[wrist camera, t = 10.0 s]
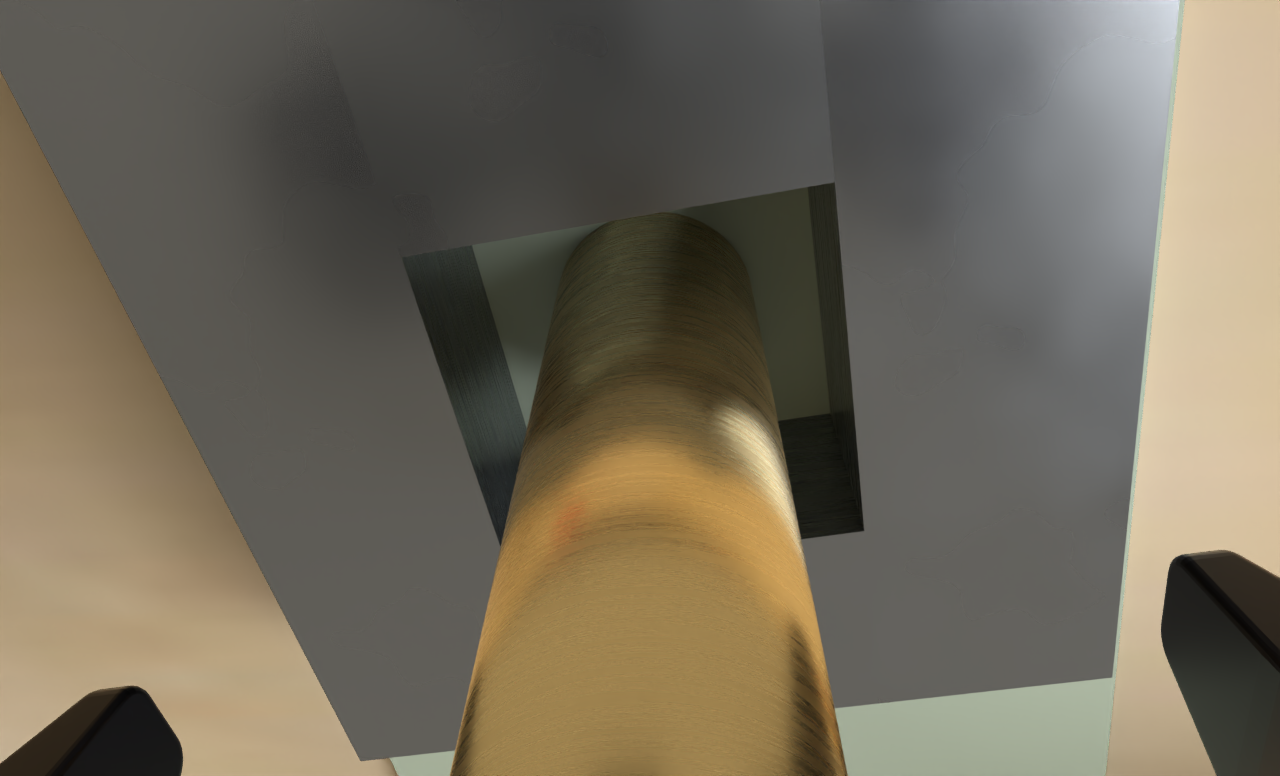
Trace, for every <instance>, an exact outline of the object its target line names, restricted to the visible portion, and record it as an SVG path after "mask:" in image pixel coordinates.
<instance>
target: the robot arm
mask: <svg viewBox="0 0 1280 776" xmlns="http://www.w3.org/2000/svg"><path fill="white" fill-rule="evenodd" d="M1161 637H1162V643H1163V647H1164V651H1165V654H1166V657H1167V659H1168V662H1169V664H1170V667H1171V669H1172V671H1173V674H1174V676H1175V678H1176V681H1177V683H1178V685H1179V688H1180V690H1181V693H1182V695H1183V697H1184V700H1185V702H1186V704H1187V707H1188V709H1189V711H1190V714H1191V716H1192V718H1193V721H1194V723H1195V726H1196V728H1197V730H1198V733H1199V735H1200V737H1201V740H1202V742H1203V744H1204V747H1205V749H1206V751H1207V754H1208V756H1209V759H1210V761H1211V763H1212V766H1213V768H1214V770H1215V773H1216V775H1217V776H1280V577H1278V576H1276V575H1274V574H1272V573H1271V572H1269V571H1267V570H1265V569H1264V568H1262V567H1260V566H1258V565H1256V564H1255V563H1253V562H1251V561H1249V560H1248V559H1246V558H1244V557H1242V556H1240V555H1238V554H1236V553H1234V552H1231V551H1227V550H1216V551H1208V552H1200V553H1192V554H1184V555H1180V556H1178V557H1176V558H1175V559H1173V561H1172V563H1171V564H1170V567H1169V571H1168V578H1167V586H1166V593H1165V600H1164V608H1163V615H1162V623H1161ZM182 766H183V753H182V747H181V744H180V741H179V739H178V738H177V736H176V735H175V733H174V732H173V730H172V729H171V727H170V726H169V724H168V723H167V721H166V720H165V718H164V717H163V715H162V713H161V712H160V710H159V709H158V707H157V706H156V704H155V703H154V701H153V700H152V698H151V697H150V695H149V694H148V693H147V692H146V691H145V690H143V689H142V688H140V687H138V686H124V687H116V688H108V689H100V690H97V691H94V692H92V693H90V694H88V695H86V696H85V697H83V698H82V699H81V700H80V701H78V702H77V703H76V704H75V705H73V706H72V707H71V708H70V709H68V710H67V711H66V712H65V713H63V714H62V715H61V716H60V717H58V718H57V719H56V720H55V721H53V722H52V723H51V724H50V725H48V726H47V727H46V728H44V729H43V730H42V731H41V732H39V733H38V734H37V735H36V736H34V737H33V738H32V739H31V740H29V741H28V742H27V743H26V744H24V745H23V746H22V747H21V748H19V749H18V750H17V751H16V752H14V753H13V754H12V755H11V756H9V757H8V758H7V759H6V760H4V761H3V762H2V763H0V776H181V772H182Z"/></svg>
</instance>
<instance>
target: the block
mask: <svg viewBox="0 0 1280 776" xmlns="http://www.w3.org/2000/svg"><path fill="white" fill-rule="evenodd" d="M1179 3H1180V0H0V71H1V73H2V75H3V76H4V78H5V80H6V82H7V84H8V86H9V88H10V90H11V92H12V94H13V96H14V98H15V99H16V101H17V103H18V105H19V107H20V109H21V111H22V113H23V115H24V117H25V119H26V121H27V122H28V124H29V126H30V128H31V130H32V132H33V134H34V136H35V138H36V140H37V142H38V144H39V145H40V147H41V149H42V151H43V153H44V155H45V157H46V159H47V161H48V163H49V165H50V167H51V169H52V170H53V172H54V174H55V176H56V178H57V180H58V182H59V184H60V186H61V188H62V190H63V192H64V193H65V195H66V197H67V199H68V201H69V203H70V205H71V207H72V209H73V211H74V213H75V215H76V216H77V218H78V220H79V222H80V224H81V226H82V228H83V230H84V232H85V234H86V236H87V238H88V239H89V241H90V243H91V245H92V247H93V249H94V251H95V253H96V255H97V257H98V259H99V261H100V262H101V264H102V266H103V268H104V270H105V272H106V274H107V276H108V278H109V280H110V282H111V284H112V285H113V287H114V289H115V291H116V293H117V295H118V297H119V299H120V301H121V303H122V305H123V307H124V308H125V310H126V312H127V314H128V316H129V318H130V320H131V322H132V324H133V326H134V328H135V330H136V331H137V333H138V335H139V337H140V339H141V341H142V343H143V345H144V347H145V349H146V351H147V353H148V354H149V356H150V358H151V360H152V362H153V364H154V366H155V368H156V370H157V372H158V374H159V376H160V377H161V379H162V381H163V383H164V385H165V387H166V389H167V391H168V393H169V395H170V397H171V399H172V400H173V402H174V404H175V406H176V408H177V410H178V412H179V414H180V416H181V418H182V420H183V422H184V424H185V425H186V427H187V429H188V431H189V433H190V435H191V437H192V439H193V441H194V443H195V445H196V447H197V448H198V450H199V452H200V454H201V456H202V458H203V460H204V462H205V464H206V466H207V468H208V470H209V471H210V473H211V475H212V477H213V479H214V481H215V483H216V485H217V487H218V489H219V491H220V493H221V494H222V496H223V498H224V500H225V502H226V504H227V506H228V508H229V510H230V512H231V514H232V516H233V517H234V519H235V521H236V523H237V525H238V527H239V529H240V531H241V533H242V535H243V537H244V539H245V540H246V542H247V544H248V546H249V548H250V550H251V552H252V554H253V556H254V558H255V560H256V562H257V563H258V565H259V567H260V569H261V571H262V573H263V575H264V577H265V579H266V581H267V583H268V585H269V586H270V588H271V590H272V592H273V594H274V596H275V598H276V600H277V602H278V604H279V606H280V608H281V609H282V611H283V613H284V615H285V617H286V619H287V621H288V623H289V625H290V627H291V629H292V631H293V632H294V634H295V636H296V638H297V640H298V642H299V644H300V646H301V648H302V650H303V652H304V654H305V656H306V657H307V659H308V661H309V663H310V665H311V667H312V669H313V671H314V673H315V675H316V677H317V679H318V680H319V682H320V684H321V686H322V688H323V690H324V692H325V694H326V696H327V698H328V700H329V702H330V703H331V705H332V707H333V709H334V711H335V713H336V715H337V717H338V719H339V721H340V723H341V725H342V726H343V728H344V730H345V732H346V734H347V736H348V738H349V740H350V742H351V744H352V746H353V748H354V749H355V751H356V753H357V755H358V757H359V759H360V761H366V760H375V759H384V758H393V757H402V756H411V755H420V754H429V753H438V752H447V751H455V749H456V745H457V740H458V736H459V731H460V727H461V722H462V718H463V713H464V709H465V704H466V700H467V695H468V691H469V686H470V682H471V677H472V673H473V668H474V664H475V659H476V655H477V650H478V646H479V641H480V637H481V632H482V628H483V623H484V619H485V614H486V610H487V605H488V601H489V597H490V592H491V588H492V583H493V579H494V574H495V570H496V565H497V561H498V556H499V552H500V547H501V543H502V538H503V534H504V529H505V525H506V520H507V516H508V511H509V507H510V502H511V498H512V493H513V489H514V484H515V480H516V475H517V471H518V466H519V462H520V457H521V453H522V448H523V444H524V439H525V435H526V430H527V428H526V424H525V421H524V418H523V414H522V411H521V408H520V404H519V401H518V398H517V394H516V391H515V388H514V384H513V381H512V378H511V374H510V371H509V368H508V364H507V361H506V358H505V354H504V351H503V348H502V344H501V341H500V338H499V334H498V331H497V328H496V324H495V321H494V318H493V314H492V311H491V308H490V304H489V301H488V298H487V294H486V291H485V288H484V284H483V281H482V277H481V274H480V271H479V267H478V264H477V261H476V257H475V254H474V251H473V247H472V245H476V244H481V243H487V242H493V241H499V240H504V239H510V238H516V237H522V236H528V235H533V234H539V233H545V232H551V231H556V230H562V229H568V228H574V227H580V226H585V225H591V224H597V223H603V222H608V221H614V220H620V219H626V218H631V217H637V216H643V215H649V214H655V213H660V212H666V211H672V210H678V209H683V208H689V207H695V206H701V205H707V204H712V203H718V202H724V201H730V200H735V199H741V198H747V197H753V196H759V195H764V194H770V193H776V192H782V191H787V190H793V189H799V188H805V187H808V197H809V207H810V217H811V227H812V237H813V247H814V257H815V267H816V277H817V287H818V297H819V307H820V317H821V327H822V337H823V347H824V357H825V367H826V377H827V387H828V397H829V407H830V413H828V414H821V415H815V416H808V417H801V418H794V419H787V420H780V421H778V424H779V429H780V434H781V439H782V444H783V449H784V454H785V459H786V464H787V469H788V474H789V479H790V485H791V490H792V495H793V500H794V505H795V510H796V515H797V520H798V525H799V530H800V535H801V540H802V545H803V551H804V556H805V561H806V566H807V571H808V576H809V581H810V586H811V591H812V596H813V601H814V606H815V611H816V616H817V622H818V627H819V632H820V637H821V642H822V647H823V652H824V657H825V662H826V667H827V672H828V677H829V682H830V688H831V693H832V698H833V703H834V708H844V707H853V706H862V705H871V704H880V703H889V702H898V701H907V700H916V699H925V698H934V697H943V696H952V695H961V694H970V693H979V692H988V691H997V690H1006V689H1015V688H1024V687H1033V686H1042V685H1051V684H1060V683H1069V682H1078V681H1087V680H1096V679H1105V678H1112V676H1113V666H1114V656H1115V646H1116V636H1117V626H1118V616H1119V605H1120V595H1121V585H1122V575H1123V565H1124V555H1125V545H1126V535H1127V525H1128V515H1129V505H1130V495H1131V485H1132V475H1133V465H1134V455H1135V445H1136V435H1137V425H1138V415H1139V405H1140V394H1141V384H1142V374H1143V364H1144V354H1145V344H1146V334H1147V324H1148V314H1149V304H1150V294H1151V284H1152V274H1153V264H1154V254H1155V244H1156V234H1157V224H1158V214H1159V204H1160V193H1161V183H1162V173H1163V163H1164V153H1165V143H1166V133H1167V123H1168V113H1169V103H1170V93H1171V83H1172V73H1173V63H1174V53H1175V43H1176V33H1177V23H1178V13H1179Z"/></svg>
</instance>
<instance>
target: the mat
mask: <svg viewBox="0 0 1280 776" xmlns="http://www.w3.org/2000/svg"><path fill="white" fill-rule="evenodd" d="M1184 2H1185V0H1180V3H1179V13H1178V23H1177V33H1176V43H1175V53H1174V63H1173V73H1172V83H1171V93H1170V103H1169V113H1168V123H1167V133H1166V143H1165V153H1164V163H1163V173H1162V183H1161V193H1160V204H1159V214H1158V224H1157V234H1156V244H1155V254H1154V264H1153V274H1152V284H1151V294H1150V304H1149V314H1148V324H1147V334H1146V344H1145V354H1144V364H1143V374H1142V384H1141V394H1140V405H1139V415H1138V425H1137V435H1136V445H1135V455H1134V465H1133V475H1132V485H1131V495H1130V505H1129V515H1128V525H1127V535H1126V545H1125V555H1124V565H1123V575H1122V585H1121V595H1120V605H1119V616H1118V626H1117V636H1116V646H1115V656H1114V666H1113V676H1112V678H1105V679H1096V680H1087V681H1078V682H1069V683H1060V684H1051V685H1042V686H1033V687H1024V688H1015V689H1006V690H997V691H988V692H979V693H970V694H961V695H952V696H943V697H934V698H925V699H916V700H907V701H898V702H889V703H880V704H871V705H862V706H853V707H844V708H835V713H836V718H837V723H838V728H839V733H840V738H841V743H842V748H843V754H844V759H845V764H846V769H847V774H848V776H1106V767H1107V757H1108V747H1109V737H1110V727H1111V718H1112V708H1113V698H1114V688H1115V678H1116V669H1117V659H1118V649H1119V639H1120V629H1121V620H1122V610H1123V600H1124V590H1125V580H1126V571H1127V561H1128V551H1129V541H1130V531H1131V522H1132V512H1133V502H1134V492H1135V482H1136V473H1137V463H1138V453H1139V443H1140V433H1141V424H1142V414H1143V404H1144V394H1145V384H1146V375H1147V365H1148V355H1149V345H1150V335H1151V326H1152V316H1153V306H1154V296H1155V286H1156V277H1157V267H1158V257H1159V247H1160V237H1161V228H1162V218H1163V208H1164V198H1165V188H1166V179H1167V169H1168V159H1169V149H1170V139H1171V130H1172V120H1173V110H1174V100H1175V90H1176V81H1177V71H1178V61H1179V51H1180V41H1181V32H1182V22H1183V12H1184ZM666 212H671V213H677V214H681V215H685V216H688V217H691V218H694V219H696V220H698V221H701V222H703V223H704V224H706V225H708V226H710V227H711V228H713V229H714V230H716V231H717V232H718V233H720V234H721V235H722V236H723V237H724V238H725V239H726V240H727V241H728V242H729V243H730V244H731V245H732V246H733V247H734V248H735V250H736V251H737V253H738V254H739V255H740V257H741V259H742V261H743V263H744V264H745V266H746V269H747V272H748V275H749V277H750V282H751V287H752V292H753V297H754V302H755V307H756V312H757V317H758V322H759V327H760V332H761V337H762V342H763V347H764V353H765V358H766V363H767V368H768V373H769V378H770V383H771V388H772V393H773V398H774V403H775V408H776V413H777V419H778V421H780V420H787V419H794V418H801V417H808V416H815V415H821V414H828V413H830V407H829V397H828V387H827V377H826V367H825V357H824V347H823V337H822V327H821V317H820V307H819V297H818V287H817V277H816V267H815V257H814V247H813V237H812V227H811V217H810V207H809V197H808V187H805V188H799V189H793V190H787V191H782V192H776V193H770V194H764V195H759V196H753V197H747V198H741V199H735V200H730V201H724V202H718V203H712V204H707V205H701V206H695V207H689V208H683V209H678V210H672V211H666ZM608 222H610V221H608ZM608 222H603V223H597V224H591V225H585V226H580V227H574V228H568V229H562V230H556V231H551V232H545V233H539V234H533V235H528V236H522V237H516V238H510V239H504V240H499V241H493V242H487V243H481V244H476V245H472V247H473V251H474V254H475V257H476V261H477V264H478V267H479V271H480V274H481V277H482V281H483V284H484V288H485V291H486V294H487V298H488V301H489V304H490V308H491V311H492V314H493V318H494V321H495V324H496V328H497V331H498V334H499V338H500V341H501V344H502V348H503V351H504V354H505V358H506V361H507V364H508V368H509V371H510V374H511V378H512V381H513V384H514V388H515V391H516V394H517V398H518V401H519V404H520V408H521V411H522V414H523V418H524V421H525V424H526V428H527V426H528V422H529V417H530V413H531V408H532V404H533V399H534V395H535V390H536V386H537V381H538V377H539V372H540V368H541V363H542V359H543V354H544V350H545V345H546V341H547V336H548V332H549V327H550V323H551V318H552V314H553V309H554V305H555V300H556V296H557V291H558V287H559V283H560V279H561V275H562V272H563V270H564V267H565V265H566V263H567V261H568V259H569V258H570V256H571V254H572V253H573V251H574V250H575V249H576V248H577V246H578V245H579V244H580V243H581V242H582V241H583V240H584V239H585V238H586V237H587V236H588V235H589V234H590V233H592V232H593V231H595V230H596V229H597V228H599V227H600V226H602V225H604V224H606V223H608ZM454 754H455V751H447V752H438V753H429V754H420V755H411V756H402V757H393V758H390V760H391V762H392V764H393V766H394V768H395V770H396V772H397V774H398V776H450V772H451V767H452V763H453V758H454Z"/></svg>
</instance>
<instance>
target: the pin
mask: <svg viewBox="0 0 1280 776" xmlns="http://www.w3.org/2000/svg"><path fill="white" fill-rule="evenodd" d="M450 776H848V774H847V769H846V764H845V759H844V754H843V748H842V743H841V738H840V733H839V728H838V723H837V718H836V713H835V708H834V703H833V698H832V693H831V688H830V682H829V677H828V672H827V667H826V662H825V657H824V652H823V647H822V642H821V637H820V632H819V627H818V622H817V616H816V611H815V606H814V601H813V596H812V591H811V586H810V581H809V576H808V571H807V566H806V561H805V556H804V551H803V545H802V540H801V535H800V530H799V525H798V520H797V515H796V510H795V505H794V500H793V495H792V490H791V485H790V479H789V474H788V469H787V464H786V459H785V454H784V449H783V444H782V439H781V434H780V429H779V424H778V419H777V413H776V408H775V403H774V398H773V393H772V388H771V383H770V378H769V373H768V368H767V363H766V358H765V353H764V347H763V342H762V337H761V332H760V327H759V322H758V317H757V312H756V307H755V302H754V297H753V292H752V287H751V282H750V277H749V275H748V272H747V269H746V266H745V264H744V263H743V261H742V259H741V257H740V255H739V254H738V253H737V251H736V250H735V248H734V247H733V246H732V245H731V244H730V243H729V242H728V241H727V240H726V239H725V238H724V237H723V236H722V235H721V234H720V233H718V232H717V231H716V230H714V229H713V228H711V227H710V226H708V225H706V224H704V223H703V222H701V221H698V220H696V219H694V218H691V217H688V216H685V215H681V214H677V213H671V212H660V213H655V214H649V215H643V216H637V217H631V218H626V219H620V220H614V221H610V222H608V223H606V224H604V225H602V226H600V227H599V228H597V229H596V230H595V231H593V232H592V233H590V234H589V235H588V236H587V237H586V238H585V239H584V240H583V241H582V242H581V243H580V244H579V245H578V246H577V248H576V249H575V250H574V251H573V253H572V254H571V256H570V258H569V259H568V261H567V263H566V265H565V267H564V270H563V272H562V275H561V279H560V283H559V287H558V291H557V296H556V300H555V305H554V309H553V314H552V318H551V323H550V327H549V332H548V336H547V341H546V345H545V350H544V354H543V359H542V363H541V368H540V372H539V377H538V381H537V386H536V390H535V395H534V399H533V404H532V408H531V413H530V417H529V422H528V426H527V430H526V435H525V439H524V444H523V448H522V453H521V457H520V462H519V466H518V471H517V475H516V480H515V484H514V489H513V493H512V498H511V502H510V507H509V511H508V516H507V520H506V525H505V529H504V534H503V538H502V543H501V547H500V552H499V556H498V561H497V565H496V570H495V574H494V579H493V583H492V588H491V592H490V597H489V601H488V605H487V610H486V614H485V619H484V623H483V628H482V632H481V637H480V641H479V646H478V650H477V655H476V659H475V664H474V668H473V673H472V677H471V682H470V686H469V691H468V695H467V700H466V704H465V709H464V713H463V718H462V722H461V727H460V731H459V736H458V740H457V745H456V749H455V754H454V758H453V763H452V767H451V772H450Z"/></svg>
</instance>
